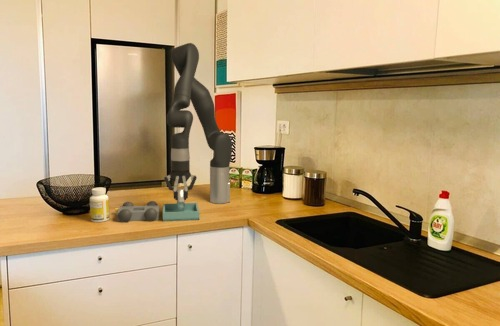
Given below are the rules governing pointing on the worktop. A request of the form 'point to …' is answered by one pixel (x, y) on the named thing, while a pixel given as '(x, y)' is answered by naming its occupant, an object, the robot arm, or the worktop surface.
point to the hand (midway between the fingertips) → (180, 199)
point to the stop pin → (180, 200)
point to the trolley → (137, 212)
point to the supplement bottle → (99, 205)
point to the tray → (180, 212)
